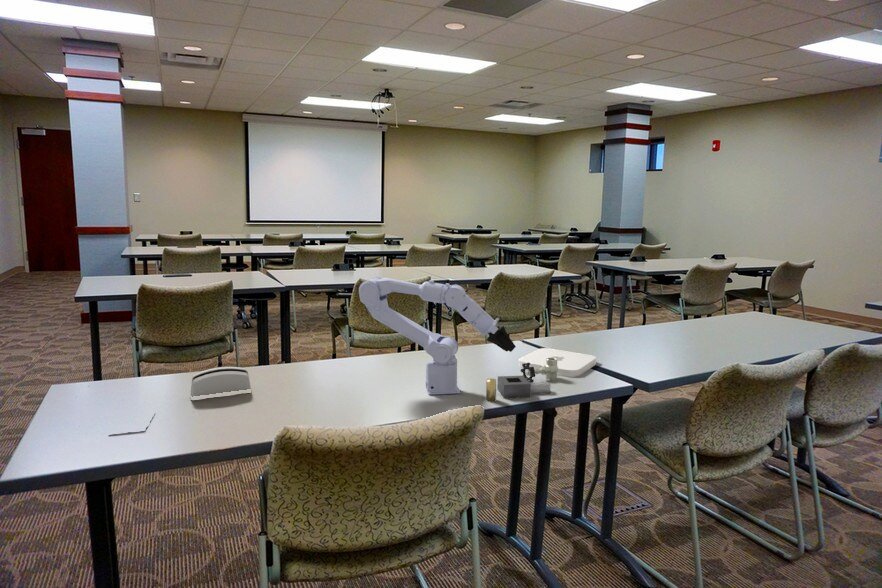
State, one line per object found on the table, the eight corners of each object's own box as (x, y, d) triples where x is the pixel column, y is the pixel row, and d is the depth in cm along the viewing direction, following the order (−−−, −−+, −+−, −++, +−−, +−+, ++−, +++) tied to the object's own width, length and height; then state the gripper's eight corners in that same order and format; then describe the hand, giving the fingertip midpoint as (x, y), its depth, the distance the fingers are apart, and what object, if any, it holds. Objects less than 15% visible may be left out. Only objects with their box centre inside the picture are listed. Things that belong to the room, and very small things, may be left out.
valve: (549, 374, 184) (520, 380, 178) (550, 355, 182) (520, 360, 177) (562, 380, 178) (532, 386, 172) (563, 360, 177) (533, 365, 171)
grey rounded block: (250, 387, 169) (249, 361, 165) (252, 397, 166) (251, 370, 161) (190, 395, 162) (188, 368, 158) (191, 406, 159) (188, 377, 154)
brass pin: (487, 401, 158) (487, 381, 157) (485, 398, 161) (485, 378, 160) (496, 401, 158) (497, 381, 157) (494, 398, 161) (495, 378, 160)
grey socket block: (503, 398, 161) (503, 384, 160) (497, 389, 169) (497, 376, 168) (553, 396, 163) (553, 382, 162) (544, 387, 171) (545, 374, 170)
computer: (515, 367, 192) (515, 360, 192) (541, 354, 210) (542, 347, 210) (575, 379, 180) (575, 371, 179) (598, 363, 198) (598, 356, 197)
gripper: (489, 305, 155) (524, 339, 155) (484, 309, 170) (516, 339, 169) (472, 323, 155) (507, 357, 154) (468, 325, 169) (500, 356, 168)
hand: (511, 349), depth 162 cm, fingers open, 7 cm apart
